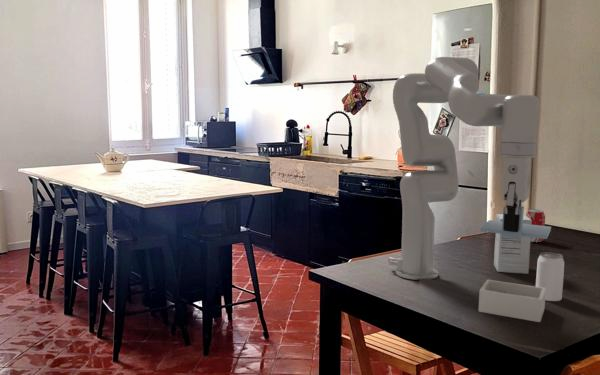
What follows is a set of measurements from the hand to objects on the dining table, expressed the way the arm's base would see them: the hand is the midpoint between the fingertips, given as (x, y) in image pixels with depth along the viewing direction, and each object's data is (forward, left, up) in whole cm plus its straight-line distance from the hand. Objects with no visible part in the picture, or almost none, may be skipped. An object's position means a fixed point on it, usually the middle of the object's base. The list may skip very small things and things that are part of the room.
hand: (512, 229), depth 127 cm
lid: (0, +5, -2) cm, 6 cm away
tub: (0, +7, -22) cm, 23 cm away
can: (+7, +22, -22) cm, 32 cm away
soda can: (-4, +92, -22) cm, 95 cm away
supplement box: (-6, +47, -22) cm, 53 cm away
